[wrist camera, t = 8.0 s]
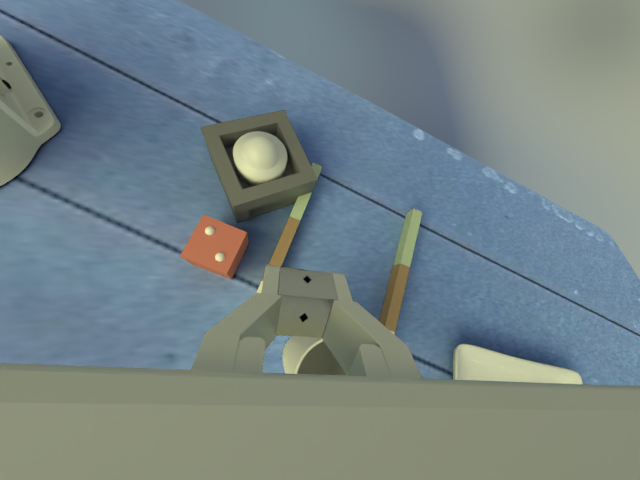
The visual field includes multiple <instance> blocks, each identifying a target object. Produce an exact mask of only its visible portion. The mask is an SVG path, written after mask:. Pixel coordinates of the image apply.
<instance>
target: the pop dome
mask: <svg viewBox="0 0 640 480" xmlns="http://www.w3.org/2000/svg"><path fill="white" fill-rule="evenodd" d="M233 158H234V164H235V169H236V172H237V174H238V175H239V177H240V178H241V179H242V180H243V181H244V182H246V183H247V184H249V185H252V186H256V185H259V184H263V183H266V182H269V181H273V180H276V179H280V178H282V177H283V175H284V173H285V169H286V163H287V151H286V148H285V146H284V145H283V143H282V142H281V141H280V140H279V139H278V138H277V137H275V136H274V135H272V134H269V133H266V132H261V131H254V132H249V133H246V134H244V135H243V136H241V137H240V138H239V139H238V140H237V141H236V143H235V145H234V148H233Z"/></svg>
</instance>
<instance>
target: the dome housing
mask: <svg viewBox="0 0 640 480" xmlns="http://www.w3.org/2000/svg"><path fill="white" fill-rule="evenodd" d="M201 130H202V133H203V136H204V139H205V142H206V146H207V149H208V152H209V155H210V157H211V160H212V162H213V165H214V167H215V169H216V172H217V174H218V177H219V179H220V182H221V184H222V186H223V189H224V191H225V194H226V196H227V199H228V201H229V203H230V206H231V208H232V211H233V213H234V216H235V218H236V220H237V223H238V222H241V221H243V220H246V219H249V218H252V217H255V216H258V215H261V214H264V213H267V212H270V211H273V210H276V209H279V208H282V207H285V206H288V205H291V204H294V203H296V200H297V198H298V197H299V196H302V195H305V194H308V193H311V192H312V191H313V189H314V187H315V185H316V182H317V180H318V179H317V177H316V175H315V173H314V171H313V169H312V167H311V165H310V163H309V161H308V159H307V156H306V154H305V152H304V150H303V148H302V146H301V144H300V142H299V140H298V138H297V136H296V133H295V131H294V129H293V127H292V125H291V123H290V121H289V119H288V117H287V115H286V113H285V111H284V110H281V111H277V112H272V113H267V114H262V115H257V116H252V117H247V118H242V119H238V120H233V121H228V122H223V123H218V124H213V125H208V126H203V127H201ZM254 131H261V132H266V133H269V134H272V135H274V136H275V137H277V138H278V139H279V140H280V141H281V142H282V143H283V145H284V146H285V148H286V151H287V163H286V169H285V173H284V175H283V177H282V178H280V179H276V180H273V181H269V182H266V183H263V184H259V185H256V186H252V185H249V184H247V183H246V182H244V181H243V180H242V179H241V178H240V177H239V175H238V174H237V172H236V169H235V164H234V158H233V148H234V145H235V143H236V141H237V140H238V139H239V138H240V137H241V136H243V135H244V134H246V133H249V132H254Z"/></svg>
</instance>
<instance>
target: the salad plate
mask: <svg viewBox="0 0 640 480" xmlns="http://www.w3.org/2000/svg"><path fill="white" fill-rule="evenodd" d="M453 380H480V381H507V382H535V383H562V384H583V382H582V379H581V376H580V375H579V374H578V373H577V372H575V371H573V370H570V369H566V368H562V367H557V366H552V365H548V364H543V363H538V362H534V361H530V360H525V359H521V358H517V357H513V356H510V355H506V354H503V353H499V352H495V351H492V350H489V349H485V348H482V347H479V346H475V345H470V344H459V345H458V346H456V348H455V350H454V354H453Z"/></svg>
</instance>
